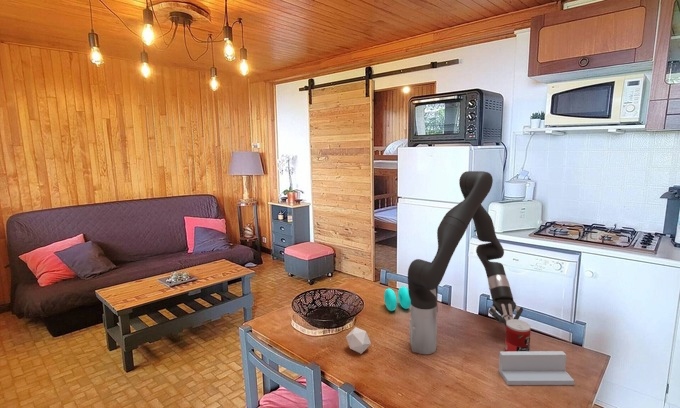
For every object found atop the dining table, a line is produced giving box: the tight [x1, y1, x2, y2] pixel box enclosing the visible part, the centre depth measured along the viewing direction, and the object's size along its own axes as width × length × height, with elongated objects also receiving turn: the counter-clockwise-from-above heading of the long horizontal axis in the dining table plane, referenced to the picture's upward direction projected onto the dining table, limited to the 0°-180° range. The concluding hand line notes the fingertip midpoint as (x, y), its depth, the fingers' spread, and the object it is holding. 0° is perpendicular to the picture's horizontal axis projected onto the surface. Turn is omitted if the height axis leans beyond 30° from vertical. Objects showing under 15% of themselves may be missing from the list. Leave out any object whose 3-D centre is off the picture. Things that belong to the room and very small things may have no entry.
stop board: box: [498, 350, 575, 386], centre depth 114 cm, size 20×7×7 cm, turn 87°
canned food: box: [504, 318, 532, 352], centre depth 127 cm, size 8×8×11 cm
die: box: [345, 326, 372, 355], centre depth 133 cm, size 8×9×10 cm
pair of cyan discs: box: [383, 286, 411, 312], centre depth 165 cm, size 10×10×10 cm
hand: (511, 333), depth 132 cm, fingers closed
